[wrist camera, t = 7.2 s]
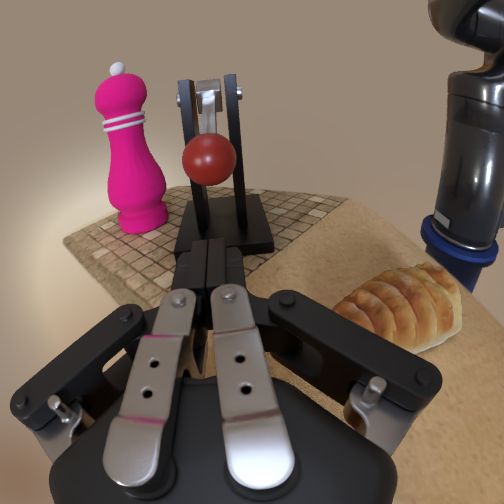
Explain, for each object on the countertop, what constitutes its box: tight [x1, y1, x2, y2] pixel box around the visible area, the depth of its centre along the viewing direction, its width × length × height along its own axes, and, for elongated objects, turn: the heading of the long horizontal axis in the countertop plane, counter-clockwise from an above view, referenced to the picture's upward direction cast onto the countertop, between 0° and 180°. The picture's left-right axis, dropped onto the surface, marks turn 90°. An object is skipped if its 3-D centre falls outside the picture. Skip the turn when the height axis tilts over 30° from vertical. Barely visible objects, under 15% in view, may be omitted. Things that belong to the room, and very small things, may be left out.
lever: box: [182, 79, 236, 186], centre depth 21 cm, size 13×4×4 cm, turn 5°
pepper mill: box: [95, 62, 168, 234], centre depth 29 cm, size 7×7×20 cm
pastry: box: [332, 262, 462, 354], centre depth 16 cm, size 9×7×4 cm
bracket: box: [174, 74, 274, 262], centre depth 27 cm, size 12×9×16 cm
